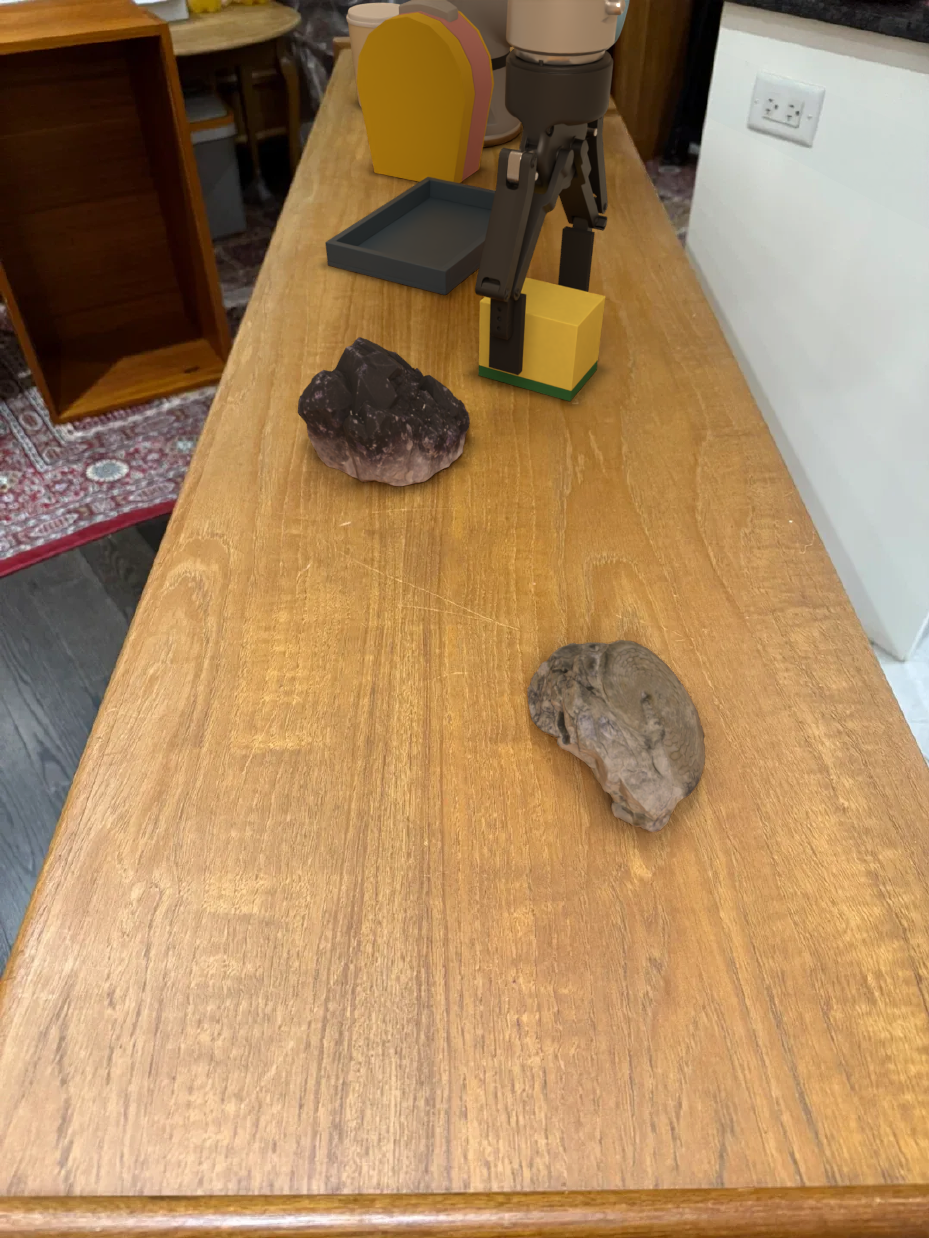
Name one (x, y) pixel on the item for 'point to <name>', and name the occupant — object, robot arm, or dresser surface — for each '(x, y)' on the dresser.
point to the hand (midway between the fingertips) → (540, 334)
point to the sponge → (551, 339)
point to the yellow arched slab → (425, 93)
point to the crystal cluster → (382, 417)
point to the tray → (419, 236)
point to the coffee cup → (366, 25)
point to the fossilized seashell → (623, 725)
